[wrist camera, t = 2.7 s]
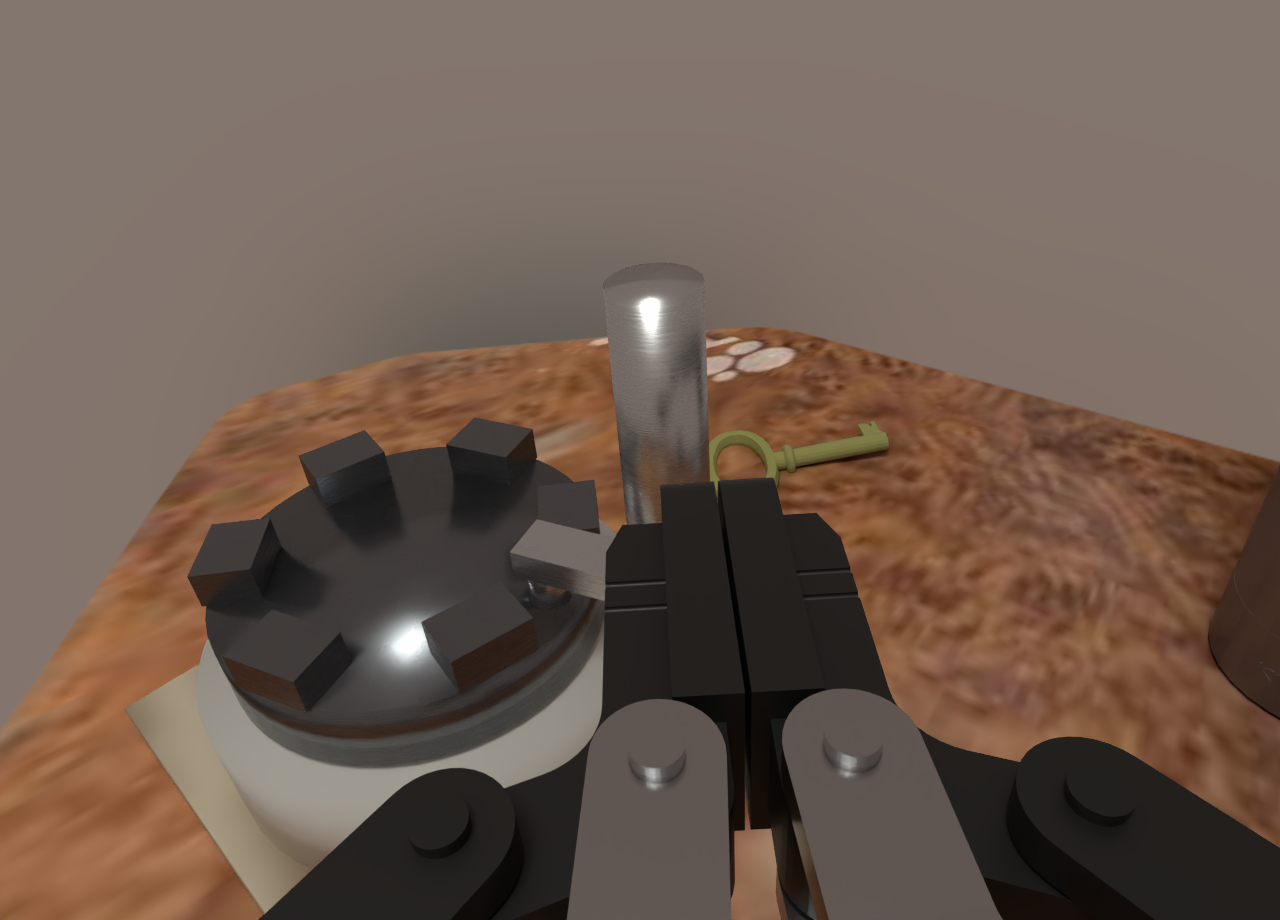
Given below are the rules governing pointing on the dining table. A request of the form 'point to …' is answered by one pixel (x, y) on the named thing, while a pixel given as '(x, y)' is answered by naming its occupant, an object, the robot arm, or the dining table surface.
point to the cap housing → (347, 795)
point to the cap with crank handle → (450, 559)
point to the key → (797, 450)
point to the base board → (212, 789)
